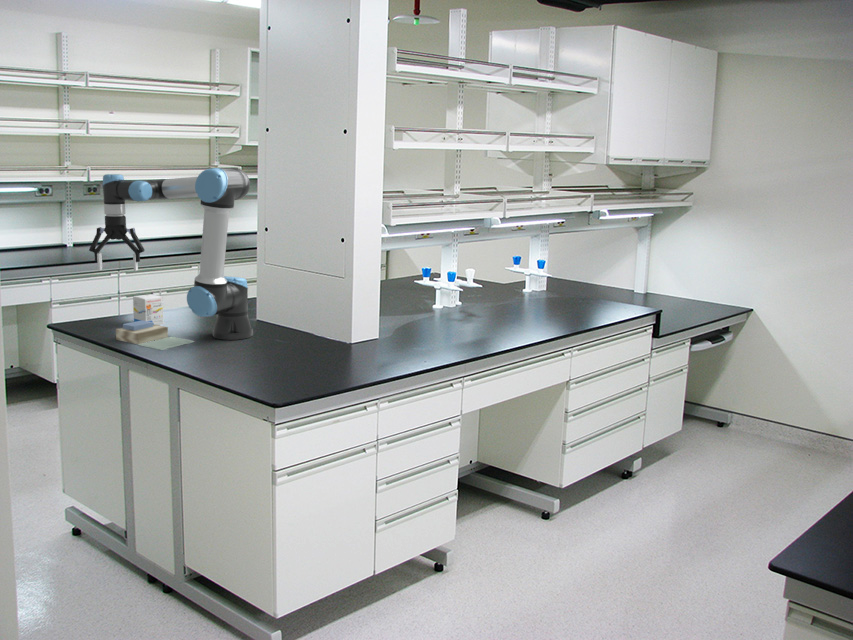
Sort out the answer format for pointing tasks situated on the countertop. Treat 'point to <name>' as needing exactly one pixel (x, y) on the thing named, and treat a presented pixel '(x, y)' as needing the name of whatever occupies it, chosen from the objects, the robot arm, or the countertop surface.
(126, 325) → the blue flat block
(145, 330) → the beige flat block
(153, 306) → the ink box
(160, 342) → the mat
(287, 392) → the countertop surface
